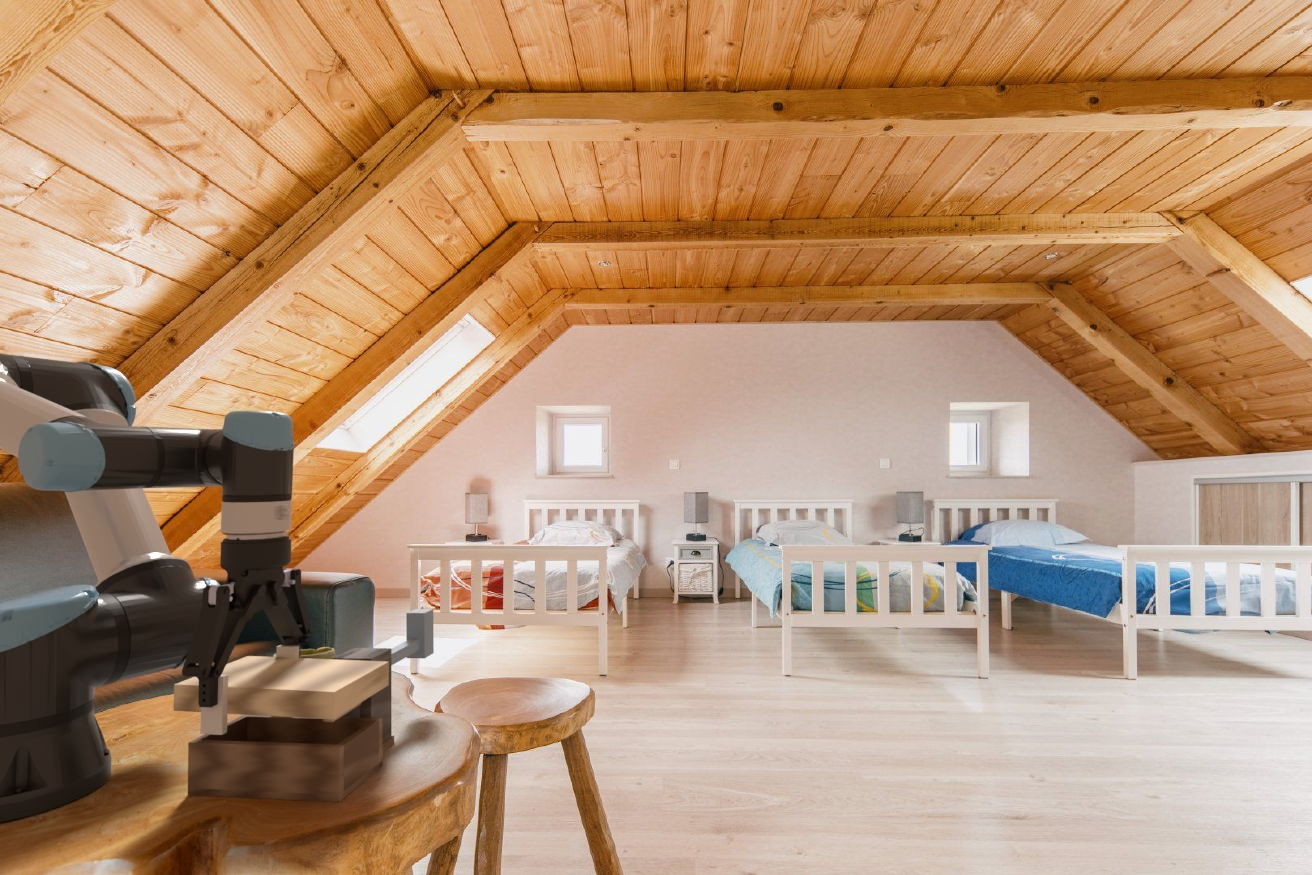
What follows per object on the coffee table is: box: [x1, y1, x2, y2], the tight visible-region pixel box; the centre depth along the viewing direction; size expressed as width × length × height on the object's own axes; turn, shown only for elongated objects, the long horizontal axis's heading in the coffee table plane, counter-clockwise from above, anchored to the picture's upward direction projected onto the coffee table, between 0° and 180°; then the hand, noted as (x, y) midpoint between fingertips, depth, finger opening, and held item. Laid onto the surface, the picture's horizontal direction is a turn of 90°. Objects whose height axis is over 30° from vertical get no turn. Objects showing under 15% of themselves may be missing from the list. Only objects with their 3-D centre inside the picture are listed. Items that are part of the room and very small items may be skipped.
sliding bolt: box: [391, 608, 434, 667], centre depth 97 cm, size 3×20×7 cm, turn 172°
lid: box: [173, 655, 389, 722], centre depth 81 cm, size 20×12×4 cm, turn 83°
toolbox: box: [187, 647, 395, 803], centre depth 84 cm, size 19×16×13 cm
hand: (253, 713), depth 81 cm, fingers closed on lid, 11 cm apart
